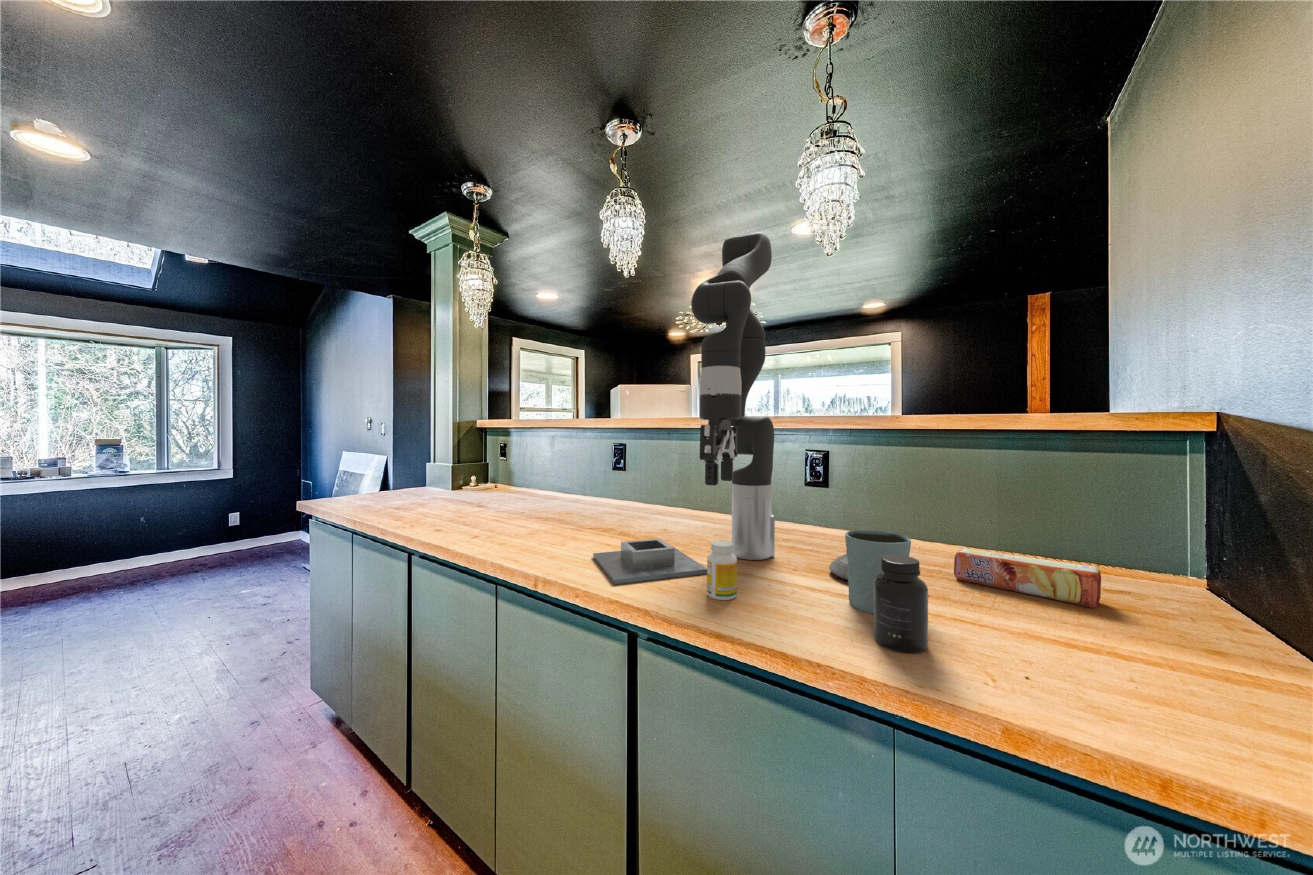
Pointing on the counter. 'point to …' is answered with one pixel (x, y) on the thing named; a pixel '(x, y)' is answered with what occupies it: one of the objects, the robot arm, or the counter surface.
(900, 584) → the supplement bottle
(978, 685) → the counter surface
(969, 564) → the snack package
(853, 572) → the grey-green cup
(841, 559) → the flying saucer
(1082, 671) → the counter surface
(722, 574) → the supplement bottle
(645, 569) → the sleeve
